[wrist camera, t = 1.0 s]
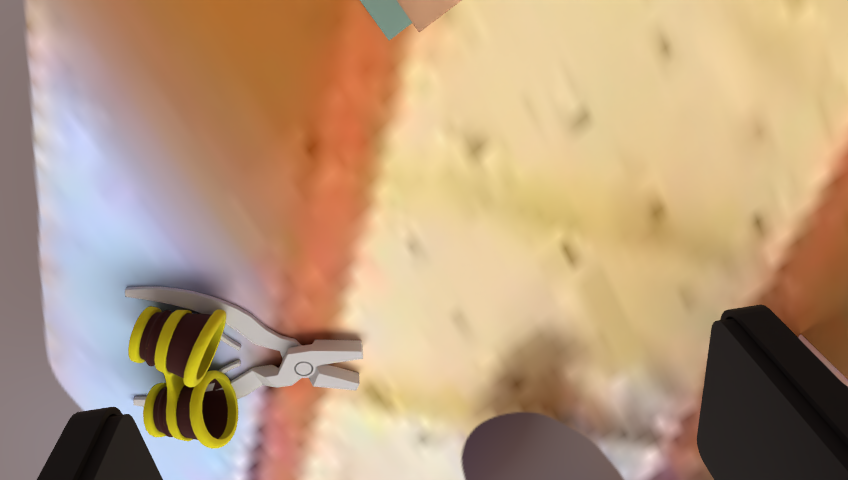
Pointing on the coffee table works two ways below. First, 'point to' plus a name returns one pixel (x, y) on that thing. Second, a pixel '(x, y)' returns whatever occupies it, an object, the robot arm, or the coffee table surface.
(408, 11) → the bracket
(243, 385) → the pliers
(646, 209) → the coffee table surface
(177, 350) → the opera glasses
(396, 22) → the circuit board
